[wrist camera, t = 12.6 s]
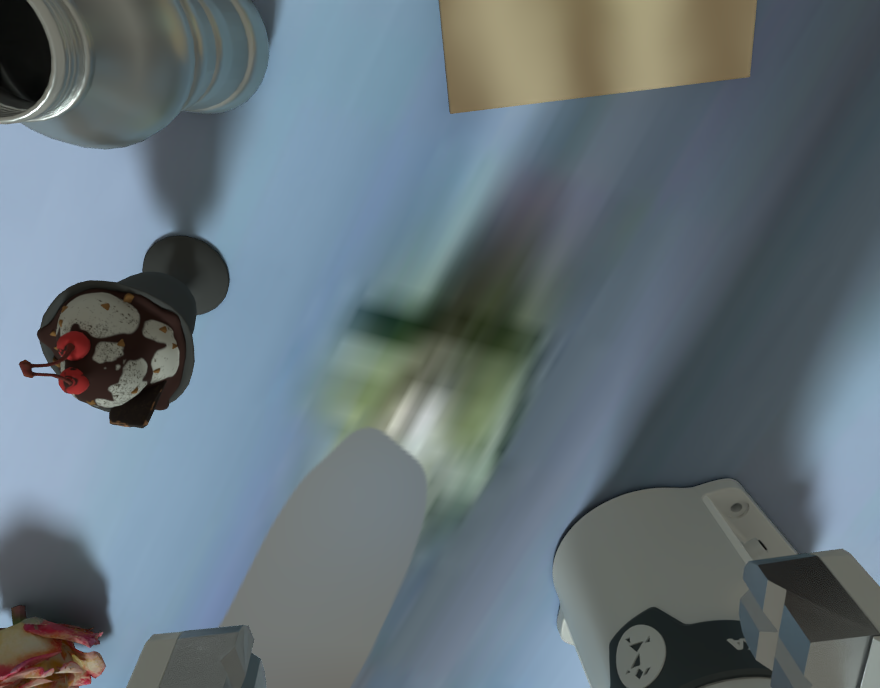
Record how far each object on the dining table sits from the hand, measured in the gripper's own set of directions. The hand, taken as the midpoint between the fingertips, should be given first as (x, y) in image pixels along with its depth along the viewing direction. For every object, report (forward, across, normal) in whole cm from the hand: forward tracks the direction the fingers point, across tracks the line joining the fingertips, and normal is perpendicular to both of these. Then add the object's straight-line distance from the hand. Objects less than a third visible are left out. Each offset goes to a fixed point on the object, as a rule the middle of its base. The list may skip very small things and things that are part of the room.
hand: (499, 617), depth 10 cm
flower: (+29, +32, +29) cm, 52 cm away
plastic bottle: (+29, +10, -10) cm, 32 cm away
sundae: (+29, +15, +2) cm, 33 cm away
